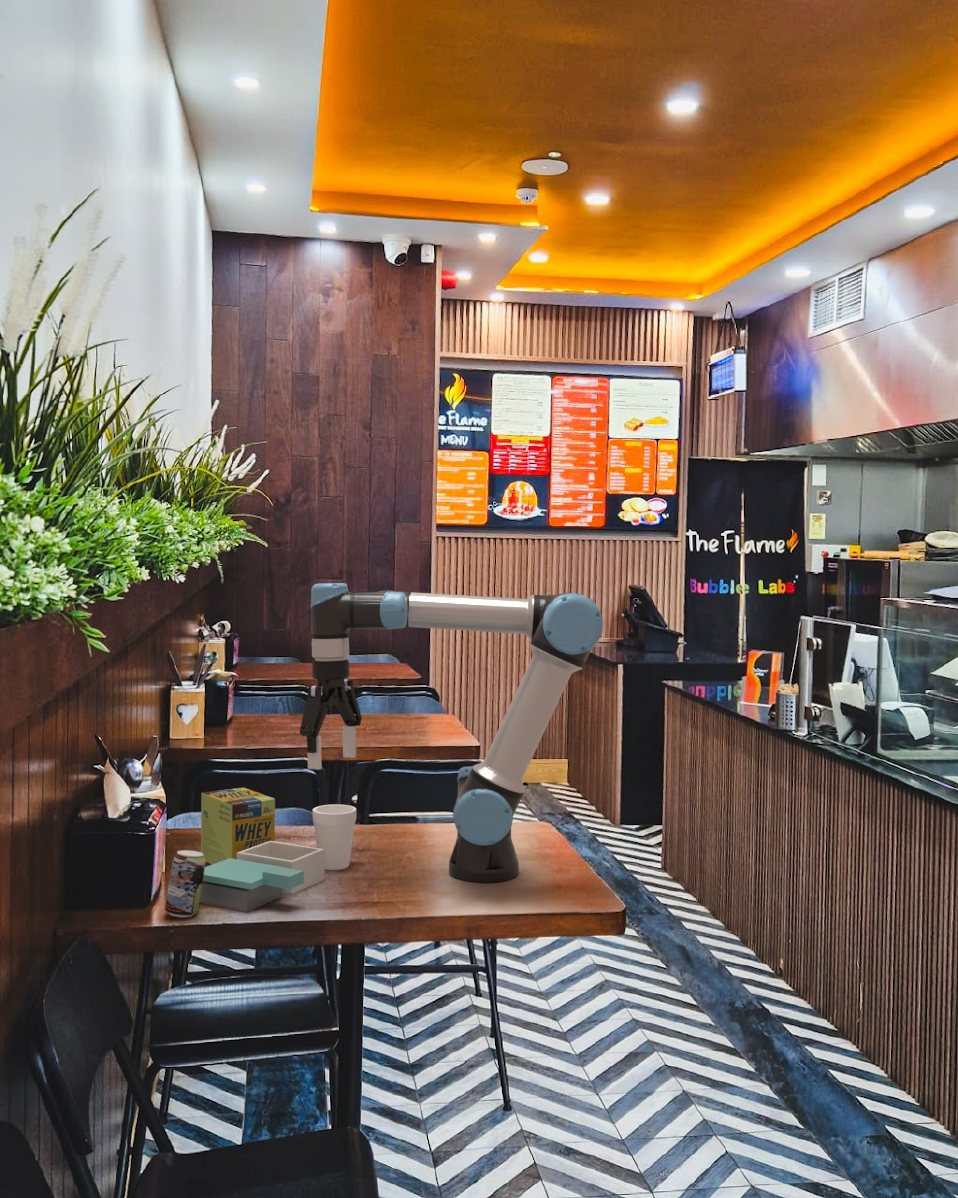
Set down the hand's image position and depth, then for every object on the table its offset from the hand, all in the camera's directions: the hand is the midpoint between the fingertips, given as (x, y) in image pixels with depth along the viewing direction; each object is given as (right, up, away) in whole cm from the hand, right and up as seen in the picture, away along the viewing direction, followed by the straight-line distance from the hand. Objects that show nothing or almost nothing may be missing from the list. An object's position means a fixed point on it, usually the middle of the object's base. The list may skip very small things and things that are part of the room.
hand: (332, 763), depth 215 cm
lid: (-14, -21, -10) cm, 28 cm away
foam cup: (-2, -26, +15) cm, 30 cm away
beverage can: (-25, -26, -17) cm, 40 cm away
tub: (-11, -26, +3) cm, 28 cm away
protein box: (-23, -25, +17) cm, 38 cm away
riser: (-17, -26, -9) cm, 32 cm away
